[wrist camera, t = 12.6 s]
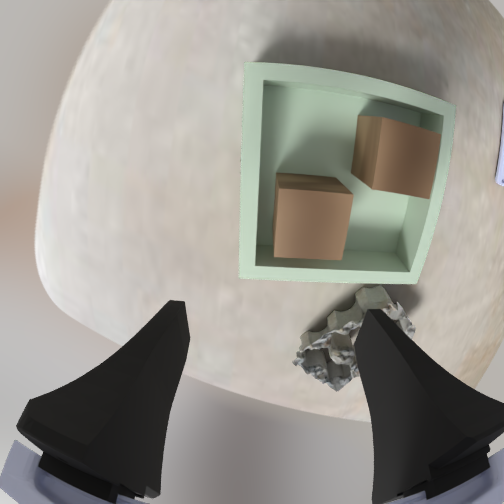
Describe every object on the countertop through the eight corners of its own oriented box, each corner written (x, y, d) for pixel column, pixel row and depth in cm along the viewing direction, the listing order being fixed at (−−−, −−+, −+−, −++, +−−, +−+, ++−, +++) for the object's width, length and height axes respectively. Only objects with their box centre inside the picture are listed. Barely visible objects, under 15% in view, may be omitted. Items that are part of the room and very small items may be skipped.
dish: (428, 103, 14) (456, 105, 11) (398, 260, 20) (416, 284, 17) (248, 72, 14) (244, 62, 11) (242, 252, 21) (238, 278, 18)
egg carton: (375, 271, 21) (393, 300, 18) (409, 314, 24) (425, 342, 20) (285, 338, 25) (287, 371, 22) (329, 368, 28) (335, 398, 24)
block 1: (335, 177, 17) (353, 194, 14) (328, 231, 19) (341, 260, 15) (276, 172, 17) (279, 188, 14) (272, 228, 19) (273, 257, 16)
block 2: (409, 127, 15) (441, 134, 11) (401, 181, 17) (429, 199, 13) (357, 115, 15) (382, 116, 11) (350, 173, 17) (371, 189, 13)
